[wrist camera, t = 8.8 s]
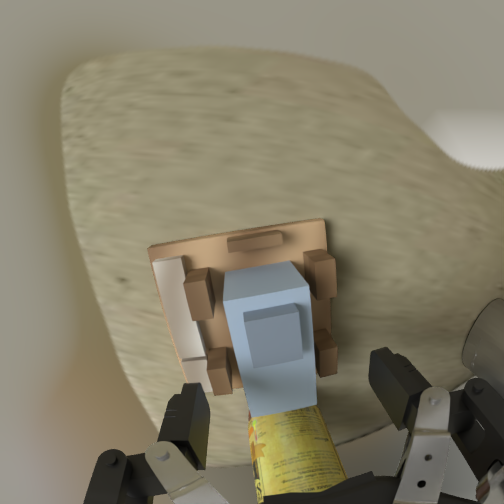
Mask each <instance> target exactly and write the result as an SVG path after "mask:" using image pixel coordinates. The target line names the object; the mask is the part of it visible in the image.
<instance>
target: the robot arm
mask: <svg viewBox="0 0 504 504" xmlns="http://www.w3.org/2000/svg"><path fill="white" fill-rule="evenodd" d="M462 360H463V364H464V365H465V366H466V367H467V368H468V369H469V370H470V371H471V372H472V373H474V374H475V375H476V376H477V377H478V378H473V379H470V380H469V381H468V382H467V383H466V385H465V387H464V389H462V390H458V391H453V392H448V391H447V390H445V389H444V388H441V387H432V386H431V385H430V384H429V383H428V381H427V380H426V379H425V378H424V377H423V376H422V375H421V374H420V372H419V371H418V370H416V368H415V367H414V366H413V365H412V364H411V362H410V361H409V360H408V359H407V358H406V357H404V356H402V355H400V354H398V353H397V354H393V353H392V352H391V351H390V350H389V348H388V347H383V348H380V349H377V350H373V351H372V352H371V355H370V365H369V382H370V385H371V387H372V389H373V390H374V392H375V394H376V395H377V397H378V398H379V400H380V402H381V403H382V405H383V407H384V408H385V410H386V411H387V413H388V415H389V416H390V418H391V420H392V421H393V423H394V424H395V426H396V428H397V429H398V430H402V429H405V428H407V429H408V431H409V432H408V435H407V438H406V442H405V445H404V449H403V452H402V456H401V459H400V462H399V465H398V467H397V470H396V472H395V475H394V477H393V476H374V475H373V473H372V471H370V472H368V473H364V474H362V475H359V476H355V477H352V478H349V479H346V480H344V481H342V482H340V483H338V484H336V485H334V486H332V487H330V488H328V489H326V490H324V491H321V492H289V493H282V494H275V495H267V496H263V502H261V503H258V504H504V300H503V299H496V300H494V301H492V302H491V303H490V304H489V305H488V306H487V307H486V308H485V309H484V310H483V312H482V313H481V314H480V316H479V317H478V319H477V320H476V322H475V324H474V325H473V327H472V329H471V331H470V333H469V336H468V338H467V340H466V343H465V346H464V350H463V358H462ZM477 420H478V421H479V423H480V424H481V425H482V427H483V428H484V430H485V431H484V430H483V428H482V427H481V426H480V424H479V423H478V422H477ZM209 424H210V408H209V404H208V401H207V399H206V396H205V393H204V390H203V387H202V385H201V383H200V382H197V383H184V385H183V388H182V392H181V394H174V396H173V397H172V398H171V399H170V400H169V401H168V405H167V408H166V412H165V415H164V419H163V422H162V426H161V429H160V433H159V437H158V441H157V442H156V443H154V444H152V445H150V446H149V447H148V449H147V450H146V452H145V453H141V454H136V455H130V456H126V455H125V454H124V453H123V452H122V451H120V450H116V449H111V450H107V451H105V452H103V453H102V454H101V455H100V456H99V457H98V460H97V463H96V466H95V469H94V472H93V475H92V477H91V481H90V484H89V487H88V490H87V493H86V496H85V500H84V503H83V504H153V497H154V496H155V495H160V494H167V493H168V495H169V497H170V499H171V500H172V501H173V503H174V504H230V503H229V502H228V501H227V500H226V499H225V498H224V497H223V496H222V495H221V494H220V493H219V492H217V491H216V489H215V488H214V487H213V486H212V485H211V484H210V483H209V482H208V481H207V480H206V479H205V478H204V477H202V476H201V475H200V474H199V473H198V472H197V470H205V468H206V456H207V445H208V434H209ZM450 437H452V439H453V440H454V442H455V443H456V445H457V446H458V448H459V450H460V451H461V453H462V455H463V456H464V458H465V460H466V461H467V463H468V465H469V466H470V468H471V470H472V471H473V473H474V475H475V477H476V478H477V480H478V484H477V487H476V499H477V500H478V502H477V501H473V500H469V499H464V498H460V497H456V496H453V495H449V494H446V493H442V492H440V491H441V486H442V483H443V478H444V474H445V469H446V463H447V457H448V452H449V445H450Z"/></svg>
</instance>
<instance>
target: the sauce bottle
mask: <svg viewBox="0 0 504 504" xmlns="http://www.w3.org/2000/svg"><path fill="white" fill-rule="evenodd" d="M248 433H249V442H250V450H251V457H252V465H253V474H254V479H255V488H256V495H257V499H258V503H261V502H263V496H267V495H275V494H282V493H289V492H321V491H324V490H326V489H328V488H330V487H332V486H334V485H336V484H338V483H340V482H342V481H344V480H346V479H348V478H347V475H346V472H345V470H344V468H343V465H342V463H341V460H340V458H339V455H338V453H337V450H336V448H335V445H334V443H333V441H332V438H331V436H330V433H329V431H328V429H327V426H326V424H325V421H324V419H323V416H322V414H321V412H320V409H319V408H317V406H316V405H313V406H309V407H304V408H300V409H296V410H291V411H286V412H281V413H276V414H270V415H265V416H259V417H251V413H250V410H249V424H248Z"/></svg>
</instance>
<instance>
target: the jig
mask: <svg viewBox="0 0 504 504" xmlns="http://www.w3.org/2000/svg"><path fill="white" fill-rule="evenodd" d="M147 250H148V254H149V259H150V263H151V267H152V271H153V275H154V279H155V283H156V287H157V291H158V294H159V298H160V302H161V305H162V309H163V312H164V316H165V319H166V322H167V326H168V329H169V332H170V335H171V339H172V342H173V345H174V348H175V351H176V354H177V357H178V360H179V362H180V365H181V368H182V371H183V374H184V376H185V379H186V382H187V383H197V382H200V383H201V385H202V387H203V390H204V392H212V391H213V393H214V396H216V395H226V394H233V393H232V389H234V388H241V387H243V383H242V379H241V376H240V372H239V368H238V364H237V360H236V356H235V352H234V347H233V343H232V339H231V335H230V331H229V326H228V322H227V318H226V313H225V309H224V304H223V292H224V279H225V272H228V271H234V270H239V269H245V268H251V267H256V266H262V265H267V264H273V263H278V262H284V261H289V260H290V262H291V263H292V264H293V266H294V267H295V268H296V269H297V271H298V272H299V273H300V274H301V276H302V277H303V278H304V280H305V281H306V282H307V283H308V285H309V290H310V301H311V312H312V324H313V338H314V353H315V371H316V374H317V373H318V374H319V376H320V378H321V377H325V376H329V375H333V374H337V365H338V346H337V345H336V343H335V342H334V340H333V339H332V337H331V306H330V298H333V297H337V281H336V263H335V258H334V257H332V256H331V255H329V254H328V253H327V242H326V231H325V221H324V220H323V219H320V218H318V219H311V220H304V221H297V222H290V223H283V224H277V225H270V226H264V227H257V228H251V229H245V230H238V231H232V232H226V233H220V234H214V235H208V236H202V237H196V238H190V239H185V240H179V241H173V242H167V243H162V244H156V245H152V246H150V247H149V248H147Z"/></svg>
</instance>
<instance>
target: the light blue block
mask: <svg viewBox="0 0 504 504" xmlns="http://www.w3.org/2000/svg"><path fill="white" fill-rule="evenodd" d="M223 304H224V309H225V313H226V318H227V322H228V326H229V331H230V335H231V339H232V343H233V347H234V352H235V356H236V360H237V364H238V368H239V372H240V376H241V379H242V383H243V387H244V391H245V395H246V399H247V402H248V406H249V410H250V413H251V417H259V416H265V415H270V414H276V413H281V412H286V411H291V410H296V409H300V408H304V407H309V406H313V405H317V393H316V371H315V353H314V338H313V324H312V312H311V301H310V290H309V285H308V283H307V282H306V281H305V280H304V278H303V277H302V276H301V274H300V273H299V272H298V271H297V269H296V268H295V267H294V266H293V264H292V263H291V262H290V260H289V261H284V262H278V263H273V264H267V265H262V266H256V267H251V268H245V269H239V270H234V271H228V272H225V279H224V292H223Z"/></svg>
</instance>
